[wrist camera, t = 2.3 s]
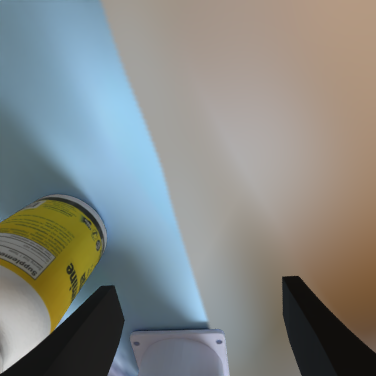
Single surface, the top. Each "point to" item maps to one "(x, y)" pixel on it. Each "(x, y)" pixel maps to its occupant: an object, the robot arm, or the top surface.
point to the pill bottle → (44, 268)
